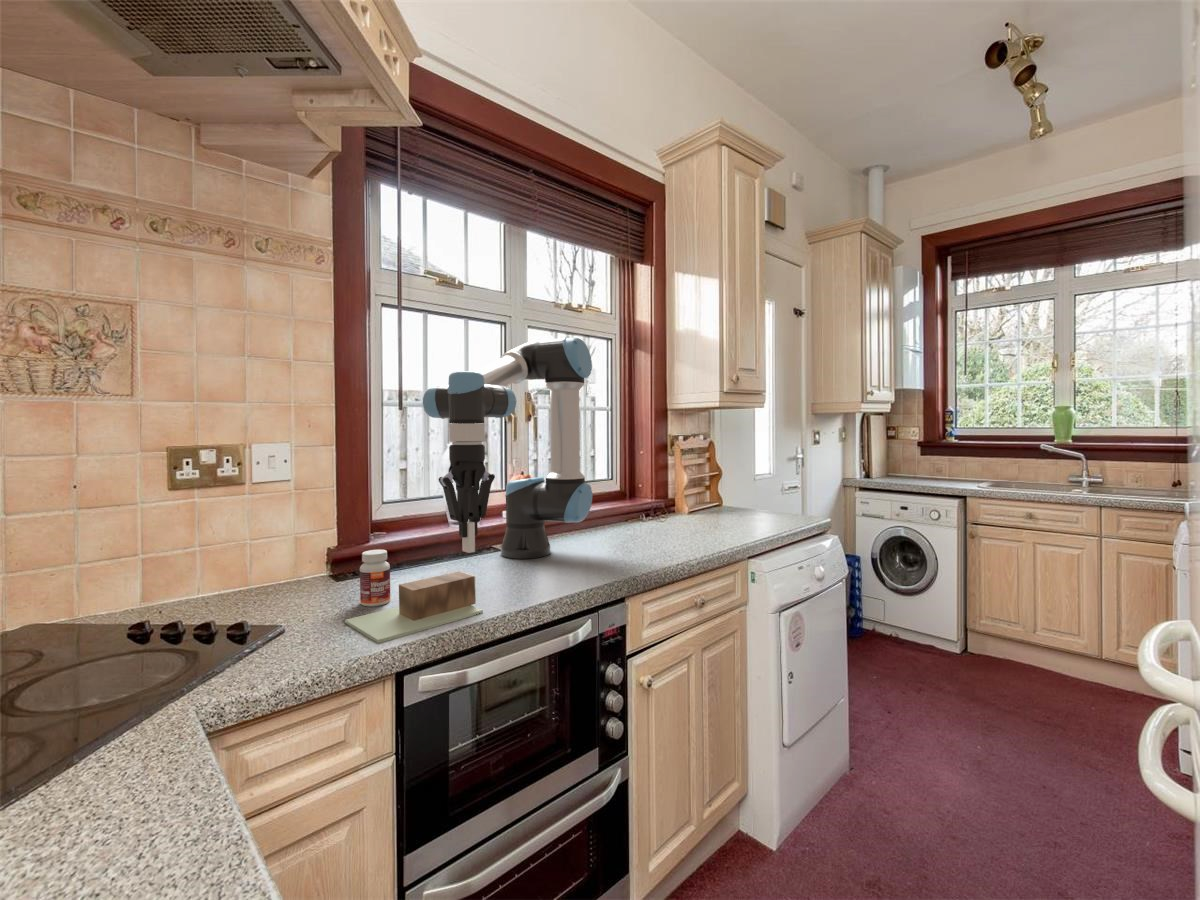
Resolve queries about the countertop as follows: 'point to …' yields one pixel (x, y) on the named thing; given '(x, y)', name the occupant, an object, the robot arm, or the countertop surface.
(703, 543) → the countertop surface
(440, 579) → the walnut block
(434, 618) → the board
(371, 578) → the pill bottle
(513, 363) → the robot arm
